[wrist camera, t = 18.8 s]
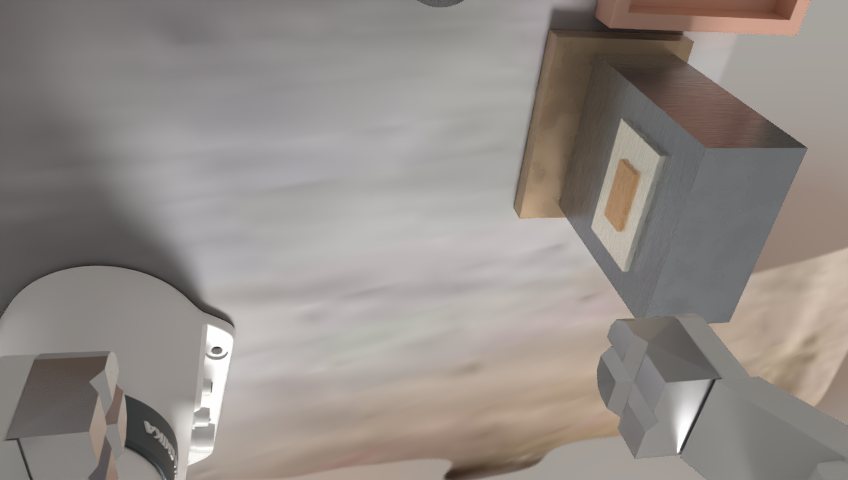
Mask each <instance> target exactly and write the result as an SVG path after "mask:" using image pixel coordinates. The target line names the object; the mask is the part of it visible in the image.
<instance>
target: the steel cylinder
mask: <svg viewBox="0 0 848 480" xmlns="http://www.w3.org/2000/svg"><path fill="white" fill-rule="evenodd" d="M418 1H420V2H421V3H424V4H426V5H429V6H433V7H448V6H452V5H455V4H458V3H460V2H462V1H463V0H418Z"/></svg>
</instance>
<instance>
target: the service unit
mask: <svg viewBox="0 0 848 480" xmlns="http://www.w3.org/2000/svg"><path fill="white" fill-rule="evenodd" d="M693 43H694V42H693V41H692V40H690V39H689V38H687V37H686V36H684V35H679V34H653V33H626V32H600V31H574V30H549V33H548V38H547V43H546V48H545V53H544V58H543V63H542V68H541V73H540V78H539V83H538V88H537V93H536V98H535V103H534V108H533V113H532V118H531V123H530V128H529V133H528V138H527V143H526V148H525V153H524V158H523V164H522V169H521V174H520V179H519V184H518V189H517V194H516V199H515V204H514V210H515V211H516V213H517V215H518V217H519V218H556V217H566V218H567V219H568V221H569V222H570V223H571V225H572V226H573V228H574V229H575V231H576V232H577V234H578V235H579V237H580V238H581V240H582V241H583V243H584V244H585V245H586V247H587V248H588V250H589V251H590V253H591V254H592V256H593V257H594V259H595V260H596V262H597V263H598V265H599V266H600V267H601V269H602V270H603V272H604V273H605V275H606V276H607V278H608V279H609V281H610V282H611V284H612V285H613V287H614V288H615V289H616V291H617V292H618V294H619V295H620V297H621V298H622V300H623V301H624V303H625V304H626V306H627V307H628V309H629V310H630V311H631V313H632V314H633V316H634V317H635V318H644V317H658V316H669V315H680V314H693V313H695V314H697V315H699V316H701V317H702V318H703V319H704V320H705V321H706V322H707V324H709V323H725V322H730V319H731V317H732V315H733V313H734V311H735V308H736V306H737V304H738V302H739V299H740V297H741V295H742V293H743V291H744V288H745V286H746V284H747V282H748V280H749V277H750V275H751V273H752V271H753V268H754V266H755V264H756V262H757V259H758V257H759V255H760V253H761V250H762V248H763V246H764V244H765V242H766V239H767V237H768V235H769V233H770V231H771V228H772V226H773V224H774V222H775V220H776V217H777V215H778V213H779V211H780V208H781V206H782V204H783V202H784V199H785V197H786V195H787V193H788V191H789V189H790V186H791V184H792V182H793V180H794V177H795V175H796V173H797V171H798V168H799V166H800V164H801V162H802V160H803V157H804V155H805V153H806V151H807V149H808V148H807V147H806V146H804V145H803V144H801V143H800V142H798V141H797V140H796V139H794V138H793V137H791V136H790V135H788V134H787V133H786V132H784V131H783V130H781V129H780V128H779V127H777V126H776V125H774V124H773V123H771V122H770V121H769V120H767V119H766V118H764V117H763V116H761V115H760V114H758V113H757V112H756V111H754V110H753V109H752V108H750V107H749V106H747V105H746V104H744V103H743V102H742V101H740V100H739V99H737V98H736V97H734V96H733V95H732V94H730V93H729V92H727V91H726V90H724V89H723V88H722V87H720V86H719V85H717V84H716V83H715V82H713V81H712V80H710V79H709V78H707V77H706V76H705V75H703V74H702V73H700V72H699V71H697V70H696V69H695V68H693V67H692V66H690V65H689V64H687V61H688V58H689V55H690V52H691V49H692V46H693Z"/></svg>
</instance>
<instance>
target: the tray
mask: <svg viewBox="0 0 848 480" xmlns="http://www.w3.org/2000/svg"><path fill="white" fill-rule="evenodd" d="M810 1H811V0H598V2H597V6H596V10H595V14H594V17H596V18H597V19H598V20H600V21H601V22H602V23H604V24H605V25H606V26H608V27H609V28H622V29H647V30H673V31H698V32H723V33H748V34H773V35H797V33H798V31H799V28H800V26H801V23H802V21H803V18H804V16H805V13H806V11H807V8H808V6H809V3H810Z"/></svg>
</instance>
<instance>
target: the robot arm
mask: <svg viewBox="0 0 848 480" xmlns="http://www.w3.org/2000/svg"><path fill="white" fill-rule="evenodd" d="M607 337H608V339H609V341H610V342H611V344H612V346H611V347H610V348H609V349H608V350H607V351H606V352H604V353H603V354H602V355H601V357H600V361H599V365H598V368H597V380H598V388H599V391H600V395H601V397H602V399H603V401H604V403H605V405H606V407H607V408H608V409H609V410H611V411H612V412H614V413H615V414H617V415H618V416H619V417H621V418H620V422H619V426H618V429H619V431H620V433H621V435H622V436H623V438H624V440H625V441H626V444H627V445H628V447H629V449H630V451H631V453H632V455H633V456H634V458H635V459H640V458H651V457H664V456H676V455H681V456H680V458H681V459H682V460H683V461H684V462H686V463H687V464H688V465H689V466H691V467H692V468H693V469H695V471H697V472H698V473H699V474H700V475H702V476H703V477H704V478H705V479H706V480H848V425H845V424H844V423H842V422H840V421H839V420H837V419H835V418H833V417H831V416H829V415H827V414H826V413H824V412H822V411H820V410H819V409H817V408H815V407H813V406H811V405H810V404H808V403H806V402H804V401H802V400H800V399H799V398H797V397H795V396H793V395H791V394H789V393H788V392H786V391H784V390H782V389H780V388H779V387H777V386H775V385H773V384H771V383H769V382H768V381H766V380H764V379H762V378H760V377H759V376H758V377H750V376H749V374H748V373H747V372H746V371H745V369H744V368H743V367H742V366H741V364H740V363H739V362H738V361H737V359H736V358H735V357H734V356H733V354H732V353H731V352H730V351H729V350H728V348H727V347H726V346H725V345H724V343H723V342H722V341H721V340H720V338H719V337H718V336H717V335H716V333H715V332H714V331H713V330H712V329H711V327H710V326H709V325H708V324H707V322H706V321H705V320H704V319H703V318H702V317H701V316H699V315H697V314H695V313H693V314H680V315H669V316H658V317H644V318H630V319H616V321H615V322H614V323H613V324H612V325H611V327H610V330H609V333H608V336H607ZM234 340H235V329H234V328H233V326H232V325H230V324H229V323H227V322H226V321H224V320H221V319H219V318H217V317H214V316H212V315H209V314H207V313H204V312H202V311H201V310H200V309H198V308H197V307H196V306H195V305H193V304H192V303H191V302H190V301H189V300H188V299H187V298H186V297H185V296H184V295H183V294H182V293H180V292H179V291H178V290H176V289H175V288H174V287H172V286H170V285H169V284H167V283H165V282H163V281H162V280H159V279H157V278H155V277H153V276H150V275H148V274H145V273H142V272H138V271H135V270H130V269H126V268H120V267H111V266H83V267H75V268H70V269H65V270H61V271H58V272H54V273H51V274H49V275H46V276H44V277H42V278H40V279H38V280H36V281H34V282H33V283H31V284H29V285H28V286H27V287H25V288H24V289H23V290H22V291H21V292H19V293H18V294H17V295H16V297H15V298H14V299H13V300H12V301H11V303H10V304H9V306H8V308H7V309H6V311H5V312H4V314H3V316H2V317H1V318H0V480H185V479H186V472H187V466H188V465H190V464H193V463H195V462H198V461H200V460H202V459H204V458H206V457H207V456H209V455H210V454H211V453H212V451H213V446H214V441H215V436H216V431H217V426H218V421H219V416H220V411H221V406H222V401H223V396H224V391H225V385H226V380H227V375H228V370H229V365H230V360H231V355H232V350H233V345H234ZM216 346H218V347H220V348H214V347H216Z"/></svg>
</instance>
